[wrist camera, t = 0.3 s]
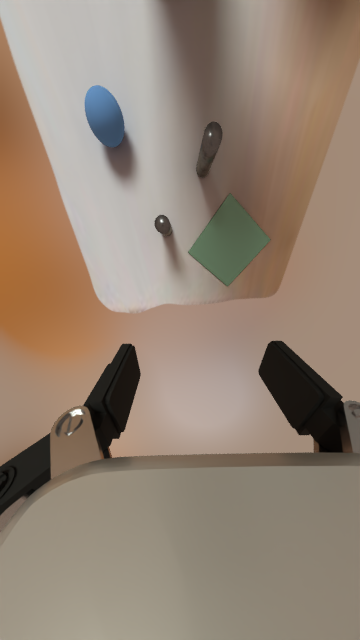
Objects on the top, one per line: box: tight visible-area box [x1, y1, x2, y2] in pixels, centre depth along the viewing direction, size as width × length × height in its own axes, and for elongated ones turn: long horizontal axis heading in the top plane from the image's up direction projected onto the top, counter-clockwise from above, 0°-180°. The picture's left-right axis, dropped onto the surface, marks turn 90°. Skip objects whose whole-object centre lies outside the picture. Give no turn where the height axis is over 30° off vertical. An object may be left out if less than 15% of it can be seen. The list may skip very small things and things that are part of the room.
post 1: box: [155, 215, 172, 236], centre depth 28 cm, size 3×3×9 cm
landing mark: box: [188, 193, 270, 286], centre depth 33 cm, size 14×14×1 cm
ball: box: [85, 85, 124, 147], centre depth 22 cm, size 6×6×6 cm
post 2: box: [196, 122, 222, 178], centre depth 23 cm, size 3×3×9 cm
